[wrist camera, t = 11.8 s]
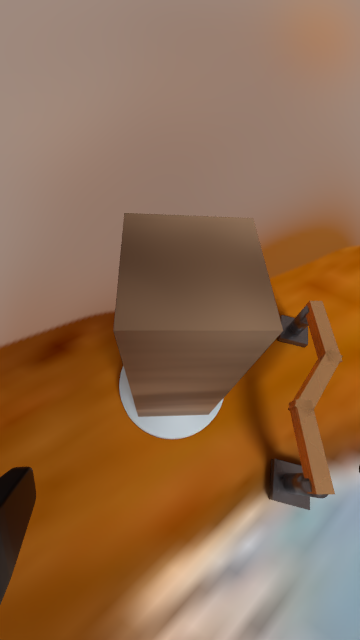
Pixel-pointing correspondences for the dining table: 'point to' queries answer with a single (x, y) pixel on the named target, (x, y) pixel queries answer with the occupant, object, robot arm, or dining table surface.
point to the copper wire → (307, 412)
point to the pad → (163, 417)
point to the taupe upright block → (190, 309)
